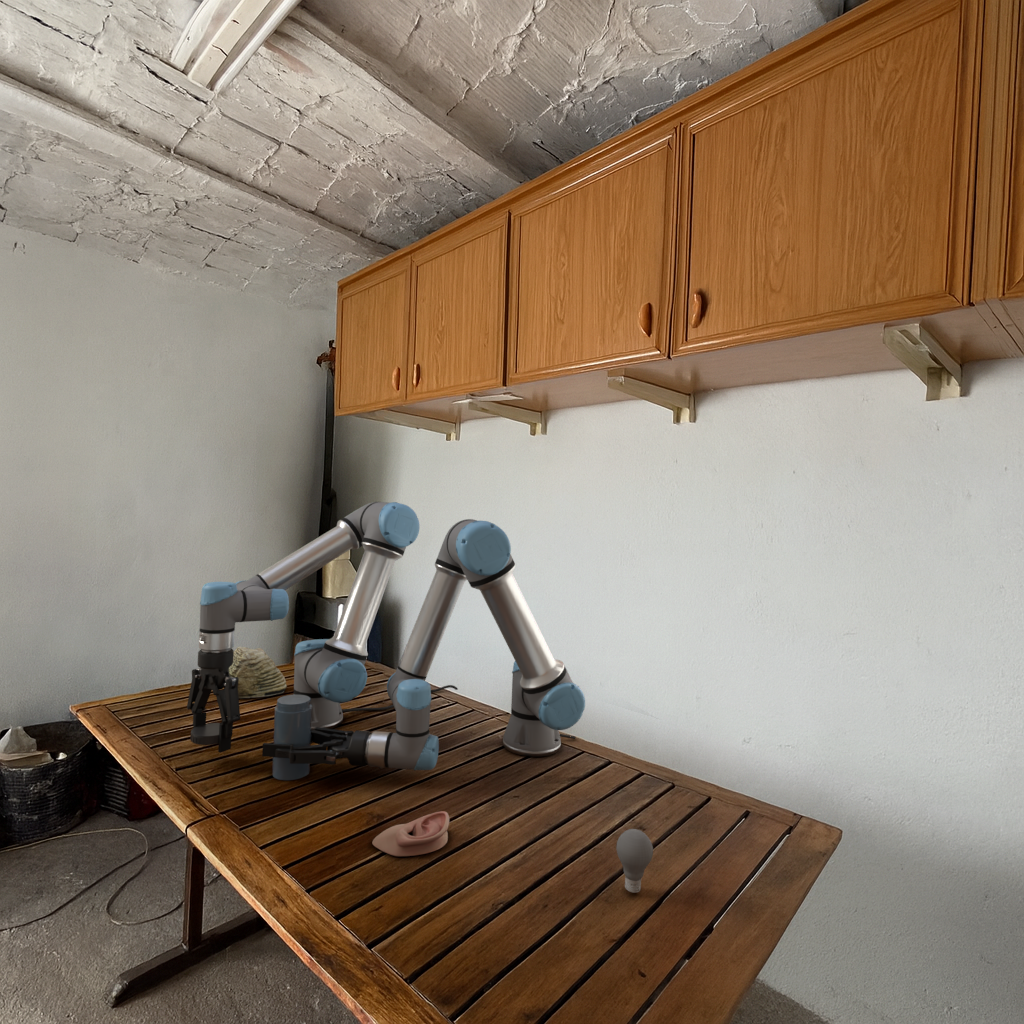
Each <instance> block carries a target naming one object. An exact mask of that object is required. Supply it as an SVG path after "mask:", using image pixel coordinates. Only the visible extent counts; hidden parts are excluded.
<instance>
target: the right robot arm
mask: <svg viewBox="0 0 1024 1024" xmlns="http://www.w3.org/2000/svg"><path fill="white" fill-rule="evenodd" d="M434 566H435V568H436V569H435V570H436V571H435V573H434V575H433V578H432V581H431V583H430V585H429V588H428V591H427V593H426V595H425V598H424V601H423V603H422V605H421V607H420V610H419V613H418V616H417V618H416V620H415V623H414V625H413V628H412V630H411V633H410V636H409V637H408V640H407V643H406V644H405V648H404V649H403V650H404V651H403V653H402V655H401V657H400V660H399V663H398V665H397V668H396V670H395V672H393V673H392V674H391V675H390V677H389V678H388V680H387V682H386V689H387V691H386V693H387V696H388V697H389V698H388V699H390V701H391V703H392V705H394V707H393V708H394V710H395V712H396V713H395V714H396V719H395V732H391V731H376V730H375V731H374V730H373V732H371V731H370V730H359V729H358V730H357V729H356V730H355V731H354V730H343V729H342V730H341V729H335V728H333V729H328V728H321V727H315V728H314V730H311V745H310V746H299V747H293V744H291V745H286V744H273V742H272V743H271V742H264V743H262V748H261V749H262V750H261V751H262V754H261V757H264V758H265V757H266V758H273V757H278V758H290V764H310V765H311V764H312V765H313V764H314V765H315V764H316V765H318V764H320V765H321V764H322V765H323V764H325V765H330V766H331V765H332V766H333V765H336V764H337V760H341V759H347V760H348V763H349V765H350V766H353V767H366V766H368V767H372V768H379V769H380V770H383V769H385V768H387V769H401V770H412V771H432V770H434V768H435V767H436V765H437V763H438V759H439V750H440V743H439V742H440V740H439V737H438V736H437V735H434V734H431V731H430V720H431V703H432V692H431V690H432V686H431V684H430V683H429V681H426V680H427V677H428V675H429V671H430V669H431V666H432V664H433V662H434V659H435V657H436V654H437V652H438V649H439V646H440V644H441V641H442V639H443V637H444V634H445V631H446V630H447V628H448V625H449V622H450V619H451V617H452V614H453V612H454V609H455V607H456V604H457V602H458V600H459V596H460V594H461V592H462V589H463V587H464V584H465V582H466V581H467V582H468V584H469V586H470V588H472V589H476V590H479V591H480V593H481V595H482V597H483V600H484V601H485V603H486V605H487V607H488V609H489V611H490V613H491V615H492V618H493V619H494V621H495V623H496V625H497V627H498V630H499V632H500V633H501V635H502V637H503V639H504V642H505V643H506V645H507V647H508V649H509V652H510V653H511V655H512V657H513V659H514V662H513V666H512V671H511V674H512V677H511V678H512V680H511V681H512V682H511V706H510V707H511V710H510V717H509V720H508V722H507V725H506V727H505V730H504V733H503V736H502V746H503V748H504V749H506V750H507V751H508V752H510V753H512V754H515V755H519V756H524V757H530V758H531V757H533V758H537V757H539V758H540V757H548V756H552V755H555V754H556V753H558V752H560V750H561V747H562V741H561V739H562V738H565V739H572V740H576V739H577V738H576V735H575V736H574V735H569V734H563V733H560V731H564V730H568V729H570V728H572V727H573V726H575V725H576V724H577V723H578V722H579V721H580V719H582V716H583V713H584V711H585V708H586V697H585V694H584V691H582V689H581V688H580V686H579V685H577V684H576V683H574V681H573V680H572V677H571V676H570V674H569V672H568V670H567V668H566V666H565V663H564V662H563V661H562V660H560V659H556V658H554V655H553V653H552V651H551V649H550V647H549V645H548V643H547V641H546V639H545V637H544V635H543V633H542V631H541V628H540V626H539V625H538V623H537V620H536V618H535V616H534V615H533V612H532V610H531V608H530V606H529V604H528V602H527V599H526V598H525V596H524V593H523V592H522V589H521V588H520V585H519V584H518V583H519V582H517V579H516V578H515V575H514V571H515V568H516V563H515V561H514V558H513V556H512V546H511V542H510V539H509V537H508V534H507V533H506V532H505V531H504V530H503V529H502V528H501V527H500V526H498V525H496V524H495V523H493V522H491V521H488V520H477V519H473V518H468V519H462V520H460V521H457V522H455V523H454V524H453V525H452V526H450V528H449V529H448V531H447V532H446V535H445V536H444V539H443V541H442V544H441V546H440V548H439V552H438V555H437V557H436V560H435V562H434ZM570 736H571V737H570Z"/></svg>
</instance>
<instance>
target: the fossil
mask: <svg viewBox="0 0 1024 1024" xmlns="http://www.w3.org/2000/svg"><path fill="white" fill-rule="evenodd" d="M229 674H230V676H231V677H233V678H234V677H238V678H239V682H238V697H239V699H250V698H264V697H271V696H275V695H281V694H284V693H285V691H286V689H287V687H288V686H287V680H286V678H285V676H284V674H283V673H282V672H281V669H279V668H278V667H277V665H276V663H275V662H274V660H273V659H272V658H271V657H270V656H269V655H268V654H267V653H266V652H265V650H264V649H263V648H260V647H258V648H251V647H247V646H246V647H245V646H238V647H237V648H236V649H235V650H234V654H233V664H232V665H231V666H230V667H229Z"/></svg>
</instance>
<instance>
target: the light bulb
mask: <svg viewBox="0 0 1024 1024" xmlns="http://www.w3.org/2000/svg"><path fill="white" fill-rule="evenodd" d="M615 849H616V854H617V857H618V859H619V861H620V863H621V865H622V867H623V873H624V874H623V875H624V876H625V878H624V888H625V890H627V891H628V892H630V893H634V894H635V893H639V892H640V891H641V889H642V887H641V886H642V879H643V877H644V875H645V871H646V868H647V867H648V866H649V864H650V863H651V861H652V859H653V855H654V847H653V843H652V841H651V838H649V836H648V835H647V834H646V833H645V832H643V831H642V830H641V829H636V828H629V829H627V830H625V831H623V832H622V833H621V834H620V835H619V837H618V839H617V841H616V847H615Z"/></svg>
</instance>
